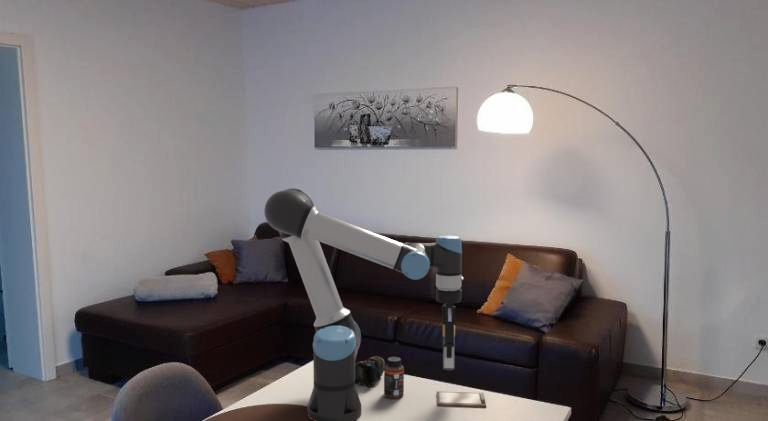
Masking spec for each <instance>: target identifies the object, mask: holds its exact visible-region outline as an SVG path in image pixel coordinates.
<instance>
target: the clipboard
mask: <svg viewBox="0 0 768 421" xmlns="http://www.w3.org/2000/svg"><path fill="white" fill-rule="evenodd" d="M484 394H485V393H484V392H470V391H469V392H466V391H465V392H464V391H462V392H461V391H460V392H459V391H436V402H437V403H436V404H437V407H461V408H463V407H464V408H487V402H486V398H485V395H484Z"/></svg>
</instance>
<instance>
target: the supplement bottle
mask: <svg viewBox="0 0 768 421" xmlns="http://www.w3.org/2000/svg"><path fill="white" fill-rule="evenodd" d="M383 375H384V376H383V379H384V380H383V394H384V397H386V398H389V399H400V398H402V397H403V396H404V392H405V391H404V390H405V389H404V388H405V385H404V383H405V382H404V380H405V367H404V365H402V359H401V358H400V357H397V356H391V357H390V356H389V357H388V358H387V364H385V368H384V372H383Z"/></svg>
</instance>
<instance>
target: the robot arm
mask: <svg viewBox="0 0 768 421" xmlns="http://www.w3.org/2000/svg"><path fill="white" fill-rule="evenodd" d="M263 212H264V213H263V214H264V217H265V218H264V219H265V220H266V222H267V223H268V224H269V226H270V227H271V228H272V229H274V230H276V231H277V232H278V233H279V235H280V238H281V240H282V241H284V242H286V243H288V244H289V247H290V250H291V253H292V256H293V258H294V260H295V263H296V266H297V268H298V272H299V274H300V277H301V279H302V280H301V281H302V282H303V285H304V288H305V291H306V293H307V296H308V299H309V301H310V304H311V307H312V309H313V312H314V315H315V321H314V322H313V326H314V330H315V333H314V336H313V342H312V349H313V350H312V351H313V356H312V357H313V388H312V390H311V394H310V397H309V400H308V403H307V413H308V415H309V417H310V418H312V419H313V420H316V421H356V420H358V419H359V418H360V417H361V415H362V403H361V399H360V396H359V393H358V390H357V387H356V384H355V364H356V360H357V355H358V351H359V349H360V346H361V342H362V335H361V329H360V327H359V325H358V323H356V321H355V320H354V318H353V315H352V313H351V310H350V309H348V308H346V307H344V306H343V302H342V300H341V297H340V295H339V291H338V289H337V286H336V284H335V281H334V278H333V275H332V274H331V270H330V268H329V265H328V263H327V259H326V257H325V255H324V251H323V249H322V246H321V243H322V244H325V245H328V246H330V247H333V248H336V249H338V250H341V251H344V252H345V253H346V252H347V253H349V254H352V255H353V256H357V257H360V258H363V259H365V260H367V261H371V262H373V263H376V264H379V265H381V266H385V267H386V268H389V269H392V270H395V271H397V272H398V273H402V274H403V275H404V276H405V277H407V278H409V279H411V280H416V281H417V280H420V279H423V278H424V277H425V276H426V275H427V274H428V272H429V270H430V269H436V270H435V287H436V289H435V299H436V302H438V303H440V304H443V305H442V306H441V313H442V322H443V325H445V344H443V343H442V344H441V345H442V348H443V347H444V368H454V369H455V355H454V325H455V323H456V314H457V313H456V312H457V308H456V306H455V305H454V304H458V303H460V302H462V298H463V296H462V293H463V292H462V281H463V280H464V277H463V275H462V274H463V272H462V270H463V269H462V268H463V265H462V264H463V257H462V256H463V249H462V248H463V247H462V239H461V238H460V237H459V236H456V235H438V236H437V237H436V239H435V242H429V243H428V242H426V243H425V242H423V243H422V242H405V243H404V242H399V241H398V240H394V239H391V238H389V237H387V236H384V235H380V234H379V233H375V232H373V231H370V230H367V229H365V228H362V227H359V226H357V225H354V224H351V223H349V222H346V221H343V220H341V219H339V218H336V217H333V216H331V215H328V214H326V213H322V212H320V211H318V210H317V207H316V206H315V204H314V201H313V199H312V197H311V196H310V195H309V194H308V193H307V192H305V191H304V190H301V189H299V188H294V187H293V188H288V189H283V190H280V191H276V192H274V193H273V194H272V195H271V196H269V197H268V199H267V201H266V202H265V206H264V211H263ZM308 415H307V416H308ZM309 417H308V418H309Z"/></svg>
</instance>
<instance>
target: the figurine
mask: <svg viewBox="0 0 768 421" xmlns="http://www.w3.org/2000/svg"><path fill="white" fill-rule="evenodd" d="M385 366H386V363H385V360H384V359H383V358H382V357H380V356H377V355H374V356H372V357H370V358H367V359H366V360H364V361H361V360H360V361H358V362H356V363H355V385H357V384H359V385H360V386H366V387H373V386H374V383H375V381H376V379H381V376H382V375H384V368H385Z"/></svg>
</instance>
